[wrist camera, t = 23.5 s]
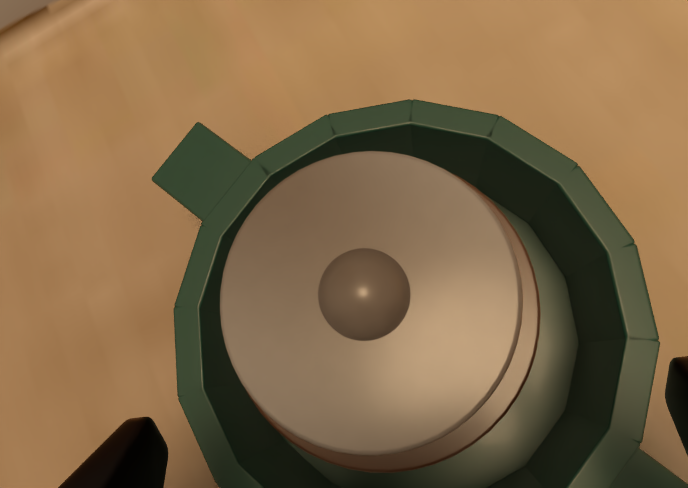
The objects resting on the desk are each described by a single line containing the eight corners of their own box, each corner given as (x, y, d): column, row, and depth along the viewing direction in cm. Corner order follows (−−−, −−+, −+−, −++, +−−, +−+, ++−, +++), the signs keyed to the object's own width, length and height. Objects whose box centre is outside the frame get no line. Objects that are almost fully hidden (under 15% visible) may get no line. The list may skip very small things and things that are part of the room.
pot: (519, 680, 17) (555, 811, 12) (120, 317, 21) (28, 304, 16) (751, 349, 18) (873, 345, 13) (321, 66, 22) (290, -16, 17)
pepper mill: (431, 440, 18) (428, 616, 6) (307, 355, 19) (86, 350, 7) (509, 311, 18) (662, 219, 6) (383, 236, 20) (303, 33, 7)
